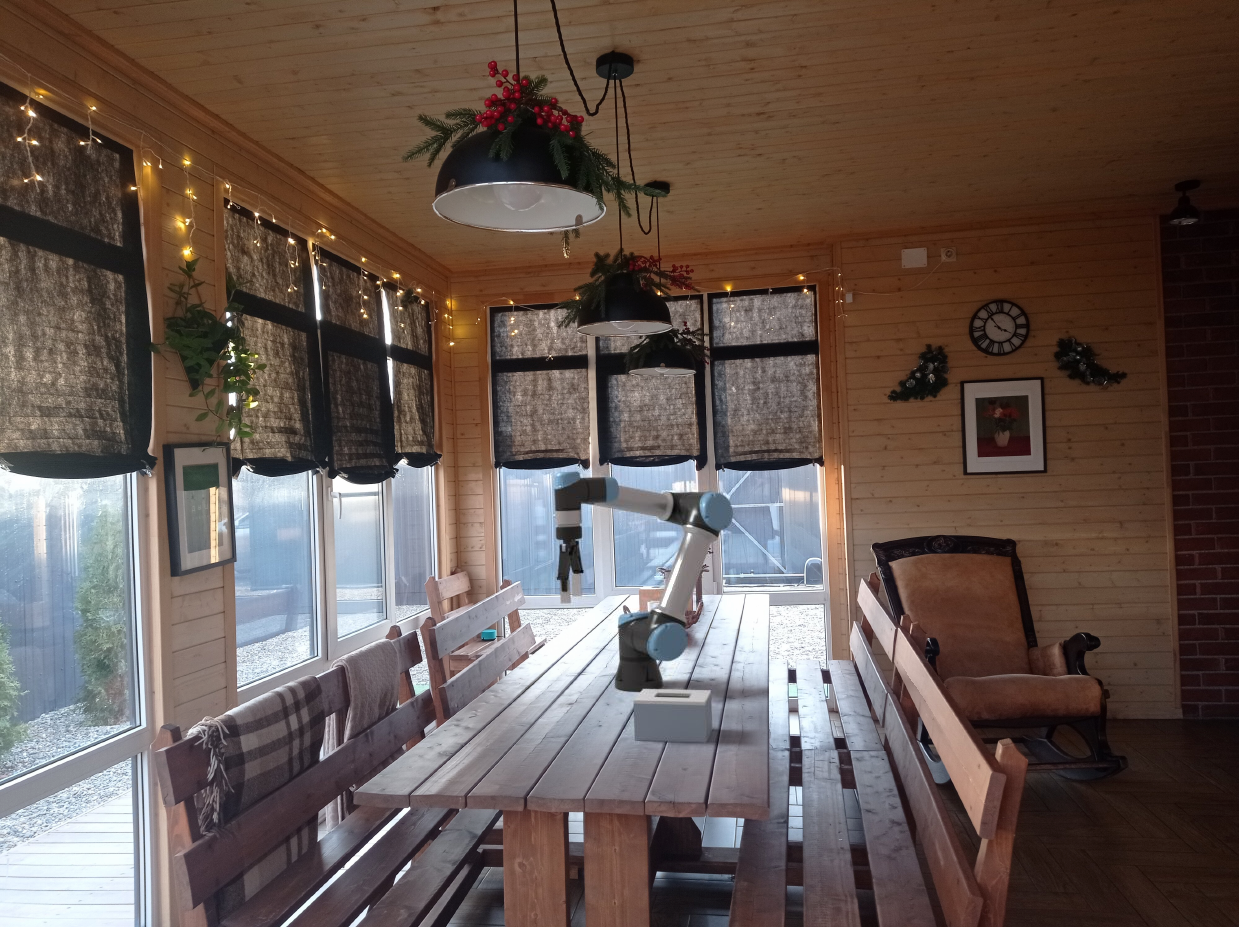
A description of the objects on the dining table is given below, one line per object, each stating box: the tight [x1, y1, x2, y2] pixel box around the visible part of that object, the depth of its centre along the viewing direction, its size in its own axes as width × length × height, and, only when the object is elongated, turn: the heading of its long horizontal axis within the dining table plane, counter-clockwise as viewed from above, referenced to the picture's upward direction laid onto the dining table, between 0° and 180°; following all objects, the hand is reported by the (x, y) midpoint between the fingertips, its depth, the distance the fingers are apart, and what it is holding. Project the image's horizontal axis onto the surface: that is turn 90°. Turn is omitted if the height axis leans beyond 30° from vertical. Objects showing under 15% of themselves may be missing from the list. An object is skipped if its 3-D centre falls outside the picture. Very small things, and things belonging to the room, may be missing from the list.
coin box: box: [632, 688, 713, 744], centre depth 234 cm, size 12×18×10 cm, turn 77°
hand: (571, 599), depth 262 cm, fingers open, 13 cm apart
